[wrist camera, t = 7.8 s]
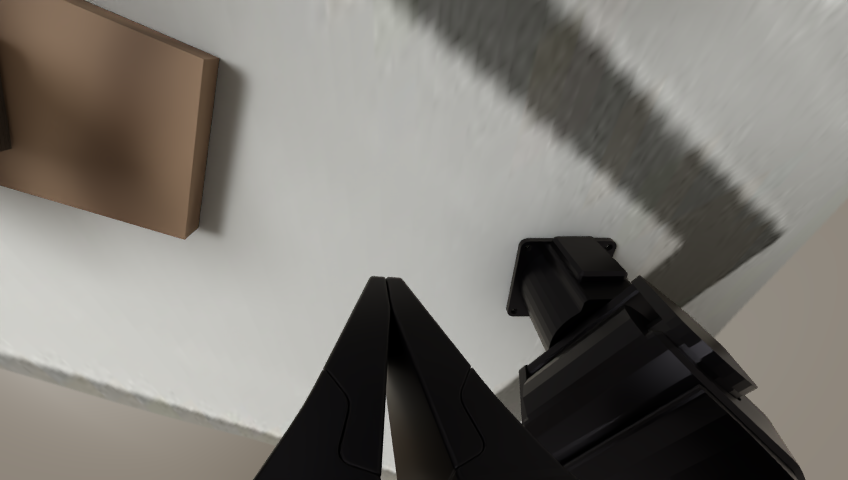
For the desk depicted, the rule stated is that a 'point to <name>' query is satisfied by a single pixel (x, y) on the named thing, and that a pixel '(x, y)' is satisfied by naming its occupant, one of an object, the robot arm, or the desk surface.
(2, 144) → the knob
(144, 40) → the knob mount
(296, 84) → the desk surface
